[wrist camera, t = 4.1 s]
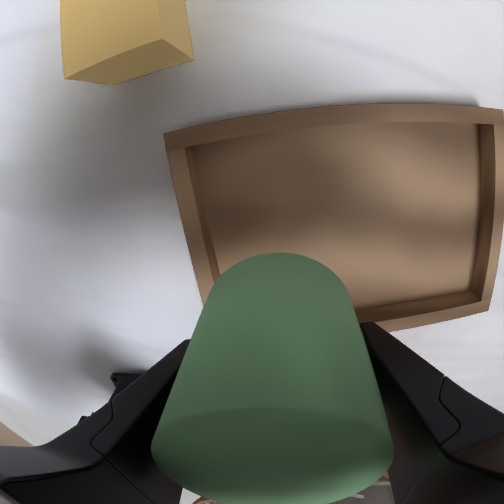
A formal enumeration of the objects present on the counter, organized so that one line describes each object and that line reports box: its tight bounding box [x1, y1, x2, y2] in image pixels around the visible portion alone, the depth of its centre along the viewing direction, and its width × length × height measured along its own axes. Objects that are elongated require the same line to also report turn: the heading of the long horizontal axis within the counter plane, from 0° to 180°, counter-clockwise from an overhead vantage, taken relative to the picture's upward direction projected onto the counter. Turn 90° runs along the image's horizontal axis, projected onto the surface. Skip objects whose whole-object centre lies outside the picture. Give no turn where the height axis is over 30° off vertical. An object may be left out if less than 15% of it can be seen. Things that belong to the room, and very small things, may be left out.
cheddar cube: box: [60, 0, 194, 85], centre depth 12 cm, size 6×6×6 cm
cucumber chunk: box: [151, 252, 394, 504], centre depth 7 cm, size 5×5×6 cm
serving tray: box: [163, 103, 504, 332], centre depth 17 cm, size 14×20×2 cm
